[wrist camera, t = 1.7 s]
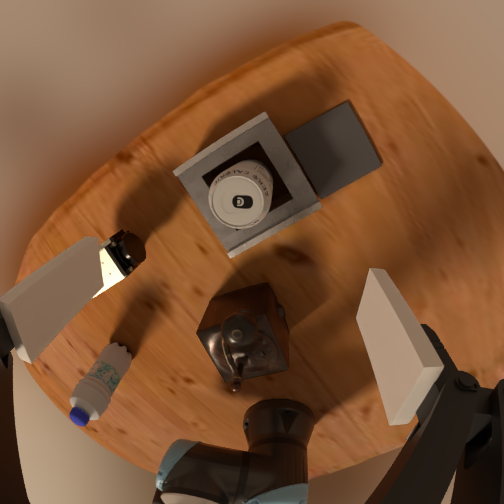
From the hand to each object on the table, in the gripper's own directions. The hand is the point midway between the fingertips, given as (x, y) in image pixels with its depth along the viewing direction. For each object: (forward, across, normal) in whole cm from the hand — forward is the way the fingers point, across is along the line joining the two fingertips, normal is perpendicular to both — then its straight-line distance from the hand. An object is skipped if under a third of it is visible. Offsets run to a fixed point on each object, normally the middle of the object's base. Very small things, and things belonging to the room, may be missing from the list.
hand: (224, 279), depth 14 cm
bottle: (+29, +25, +35) cm, 52 cm away
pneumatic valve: (+29, +20, +12) cm, 37 cm away
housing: (+29, +1, 0) cm, 29 cm away
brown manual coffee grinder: (+29, +1, +20) cm, 35 cm away
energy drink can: (+29, +1, 0) cm, 30 cm away
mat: (+29, -10, -5) cm, 31 cm away
